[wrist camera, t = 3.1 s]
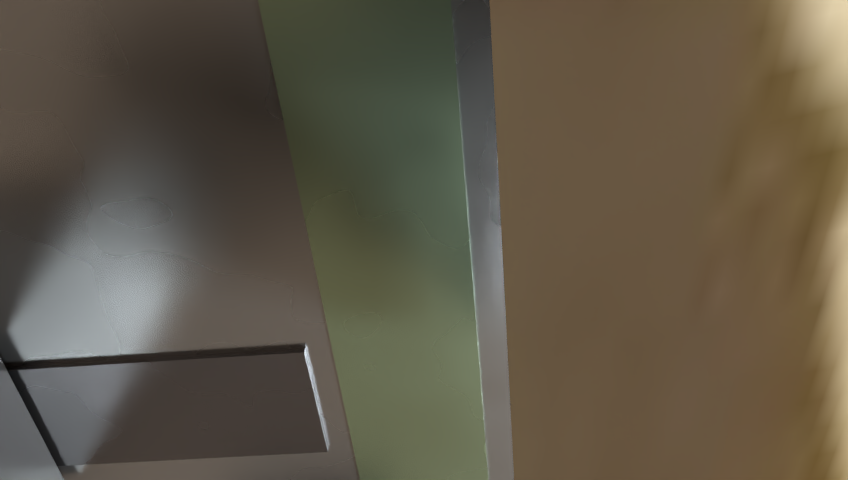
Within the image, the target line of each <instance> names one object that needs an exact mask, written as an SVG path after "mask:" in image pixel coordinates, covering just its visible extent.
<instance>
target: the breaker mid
mask: <svg viewBox="0 0 848 480" xmlns="http://www.w3.org/2000/svg"><path fill="white" fill-rule="evenodd" d="M0 480H64V479H63V477H62V475H61V473H60V471H59V469H58V467H57V465H56V463H55V461H54V459H53V458H52V456H51V454H50V452H49V450H48V448H47V446H46V444H45V442H44V440H43V438H42V436H41V435H40V433H39V431H38V429H37V427H36V425H35V423H34V421H33V419H32V417H31V415H30V413H29V411H28V410H27V408H26V406H25V404H24V402H23V400H22V398H21V396H20V394H19V392H18V390H17V388H16V387H15V385H14V383H13V381H12V379H11V377H10V375H9V373H8V371H7V369H6V367H5V365H4V364H3V362H2V360H1V358H0Z"/></svg>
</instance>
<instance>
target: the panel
mask: <svg viewBox="0 0 848 480" xmlns="http://www.w3.org/2000/svg"><path fill="white" fill-rule="evenodd" d="M0 358H1V360H2V362H3V364H4V365H5V367H6V369H7V371H8V373H9V375H10V377H11V379H12V381H13V383H14V385H15V387H16V388H17V390H18V392H19V394H20V396H21V398H22V400H23V402H24V404H25V406H26V408H27V410H28V411H29V413H30V415H31V417H32V419H33V421H34V423H35V425H36V427H37V429H38V431H39V433H40V435H41V436H42V438H43V440H44V442H45V444H46V446H47V448H48V450H49V452H50V454H51V456H52V458H53V459H54V461H55V463H56V465H57V467H58V469H59V471H60V473H61V475H62V477H63V479H64V480H514V470H513V451H512V432H511V412H510V393H509V374H508V354H507V335H506V316H505V296H504V277H503V258H502V238H501V219H500V200H499V180H498V161H497V142H496V122H495V103H494V84H493V64H492V45H491V26H490V6H489V0H0Z"/></svg>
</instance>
